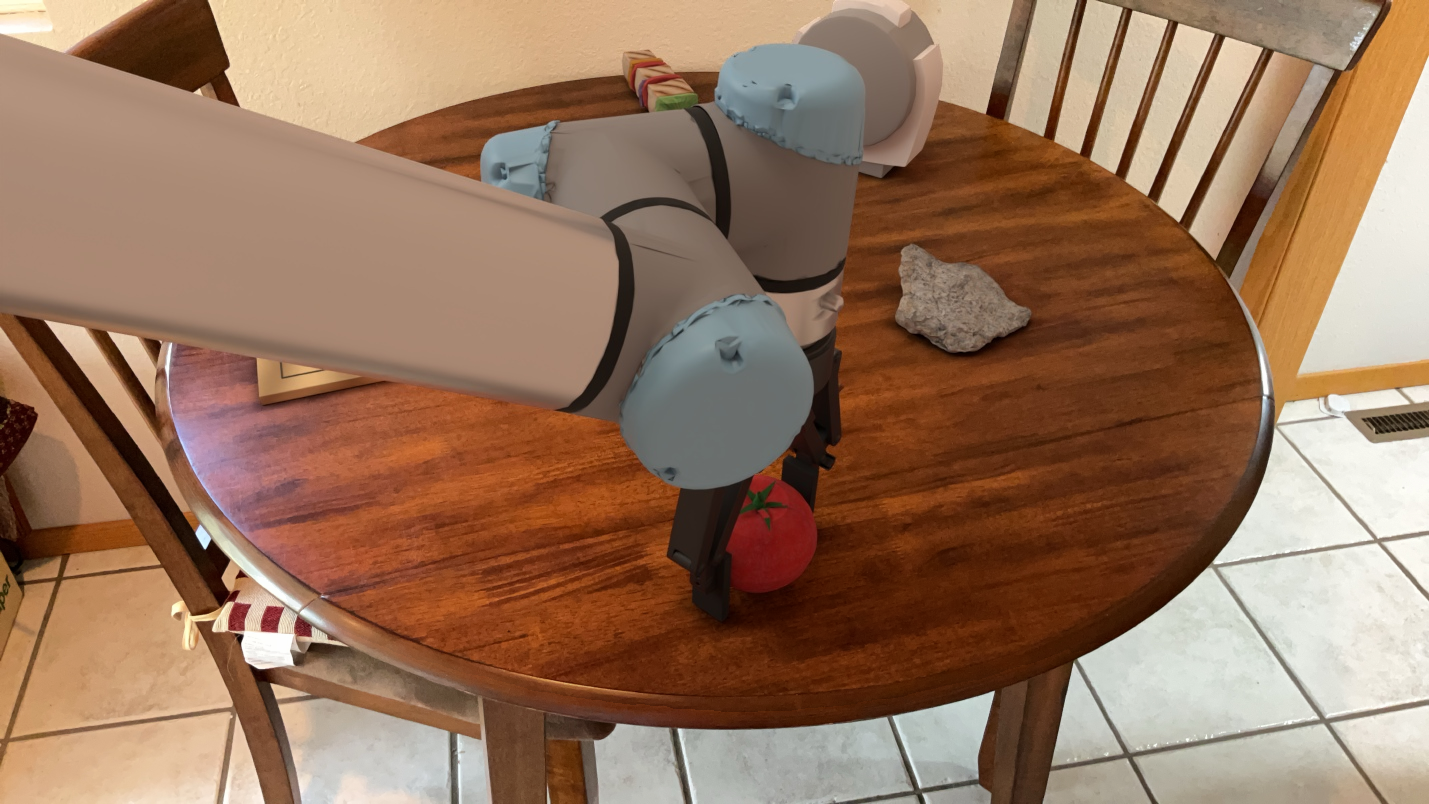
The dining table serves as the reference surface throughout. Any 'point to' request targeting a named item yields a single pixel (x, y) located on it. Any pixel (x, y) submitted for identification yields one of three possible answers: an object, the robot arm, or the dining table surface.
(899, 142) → the alarm clock
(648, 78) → the skewer
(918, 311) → the rock
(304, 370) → the board
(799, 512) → the tomato
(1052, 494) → the dining table surface
